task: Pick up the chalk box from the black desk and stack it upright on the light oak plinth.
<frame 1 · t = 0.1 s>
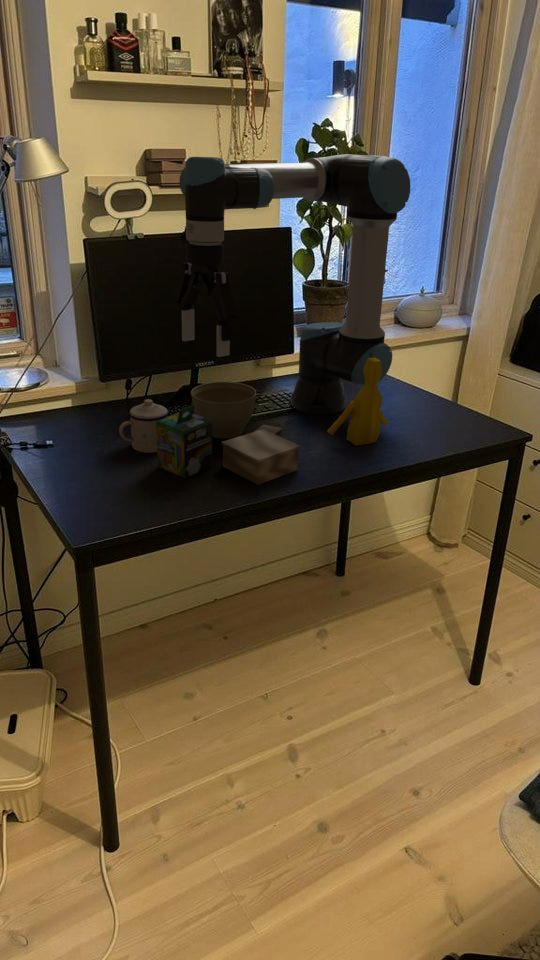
hand: (205, 347, 153), 28 cm above the table, tool pointing down, fingers open, 13 cm apart
teacup with lid: (144, 448, 174), on the table
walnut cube: (267, 448, 176), on the table
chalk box: (185, 468, 165), on the table
planter bowl: (223, 433, 185), on the table
plinth: (260, 468, 166), on the table
figure statuette: (360, 442, 182), on the table
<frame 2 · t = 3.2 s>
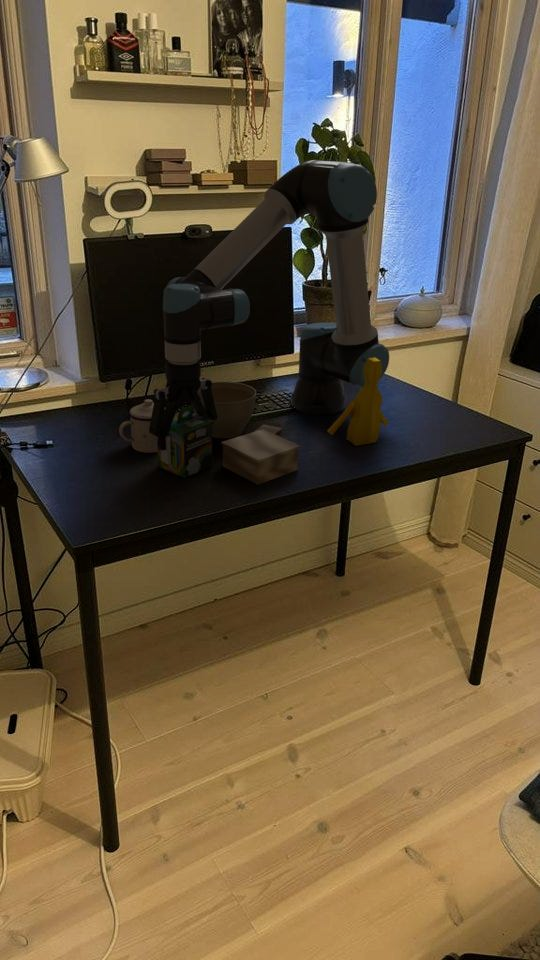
hand: (184, 456, 164), 3 cm above the table, tool pointing down, fingers closed on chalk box, 9 cm apart
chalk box: (185, 467, 165), on the table, touching gripper
everything else where it was.
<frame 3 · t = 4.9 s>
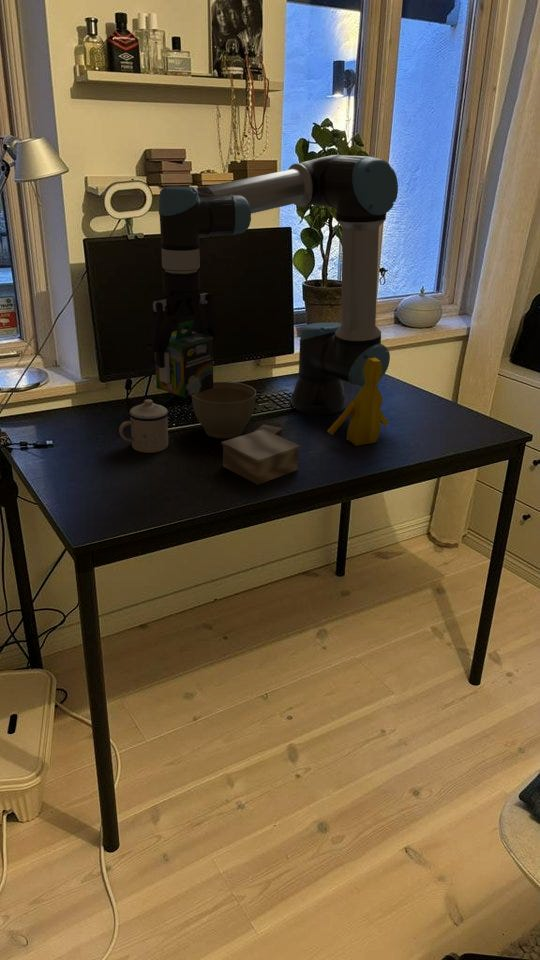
hand: (184, 376, 156), 21 cm above the table, tool pointing down, fingers closed on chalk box, 9 cm apart
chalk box: (185, 389, 157), point 18 cm above the table, touching gripper
everything else where it was.
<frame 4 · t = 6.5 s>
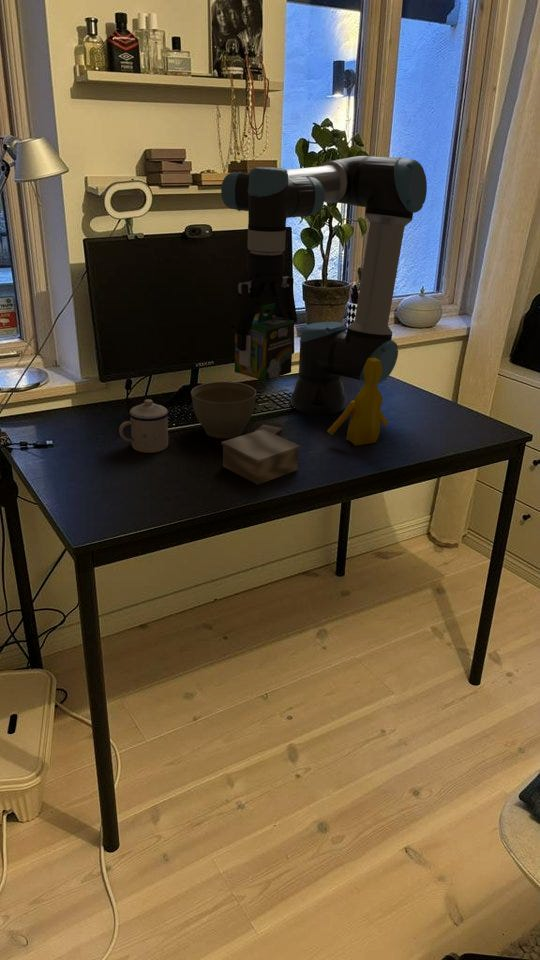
hand: (263, 360, 155), 25 cm above the table, tool pointing down, fingers closed on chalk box, 9 cm apart
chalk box: (262, 373, 156), point 22 cm above the table, touching gripper
everything else where it was.
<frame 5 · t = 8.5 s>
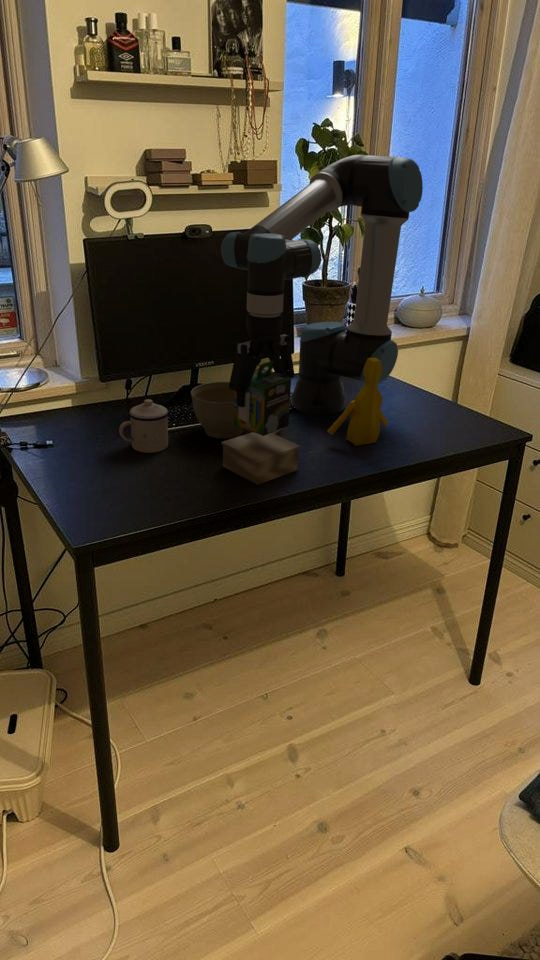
hand: (261, 414, 160), 13 cm above the table, tool pointing down, fingers closed on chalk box, 9 cm apart
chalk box: (261, 426, 161), point 10 cm above the table, touching gripper
everything else where it was.
when the fingers open (10 cm above the table, at t = 10.1 s): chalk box drops 1 cm, resting on plinth.
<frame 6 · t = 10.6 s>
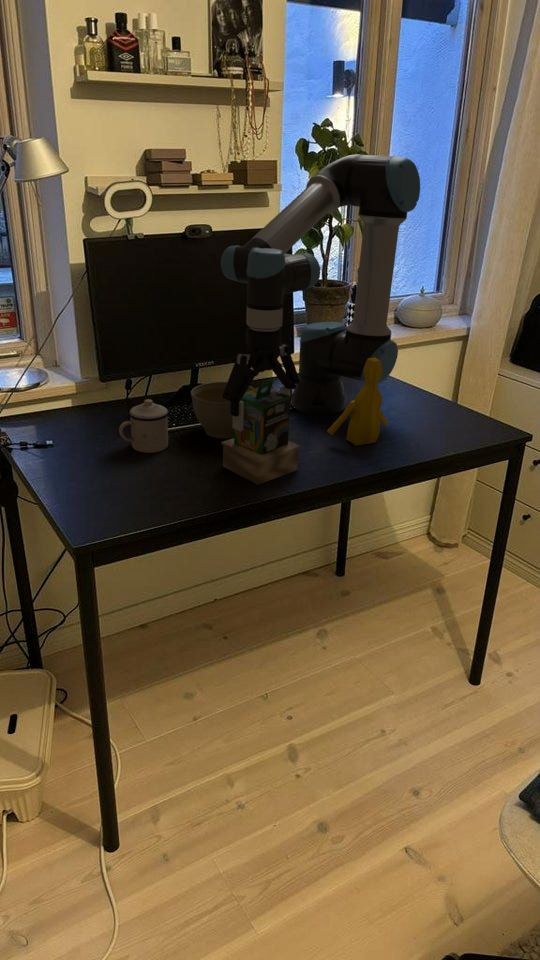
hand: (261, 422, 161), 11 cm above the table, tool pointing down, fingers open, 13 cm apart
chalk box: (260, 444, 163), point 6 cm above the table, touching plinth
everything else where it was.
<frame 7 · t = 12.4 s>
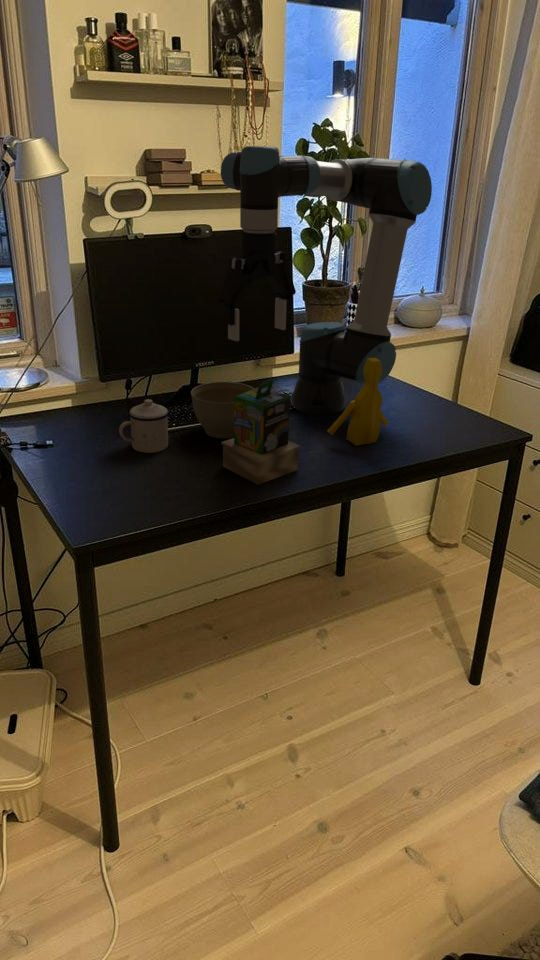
hand: (257, 334, 156), 30 cm above the table, tool pointing down, fingers open, 13 cm apart
nothing on the table moved.
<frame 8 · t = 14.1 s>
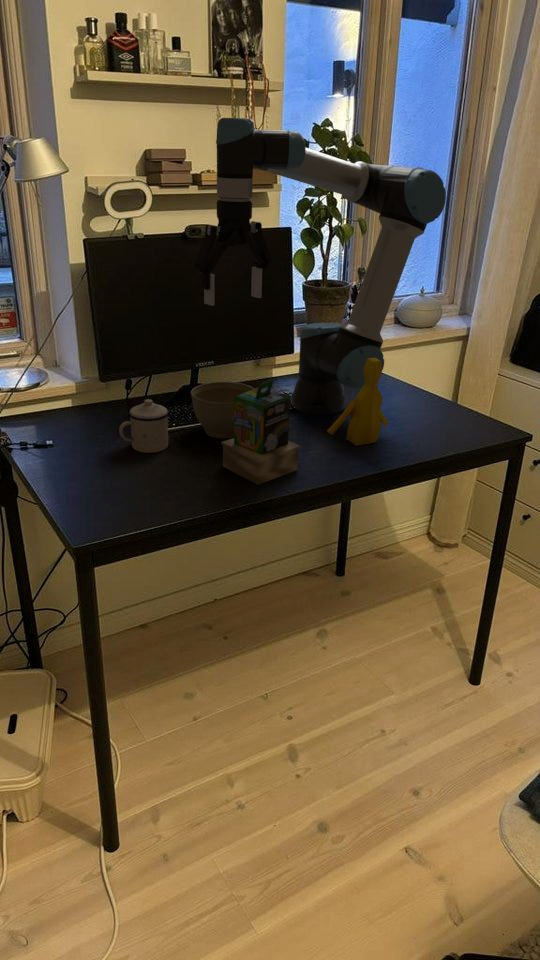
hand: (233, 300, 163), 35 cm above the table, tool pointing down, fingers open, 13 cm apart
nothing on the table moved.
at the end: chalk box inside the target area on the plinth (0.0 cm from its centre), point 5.8 cm above the plinth's base; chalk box tilted 0°; the gripper is holding nothing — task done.
